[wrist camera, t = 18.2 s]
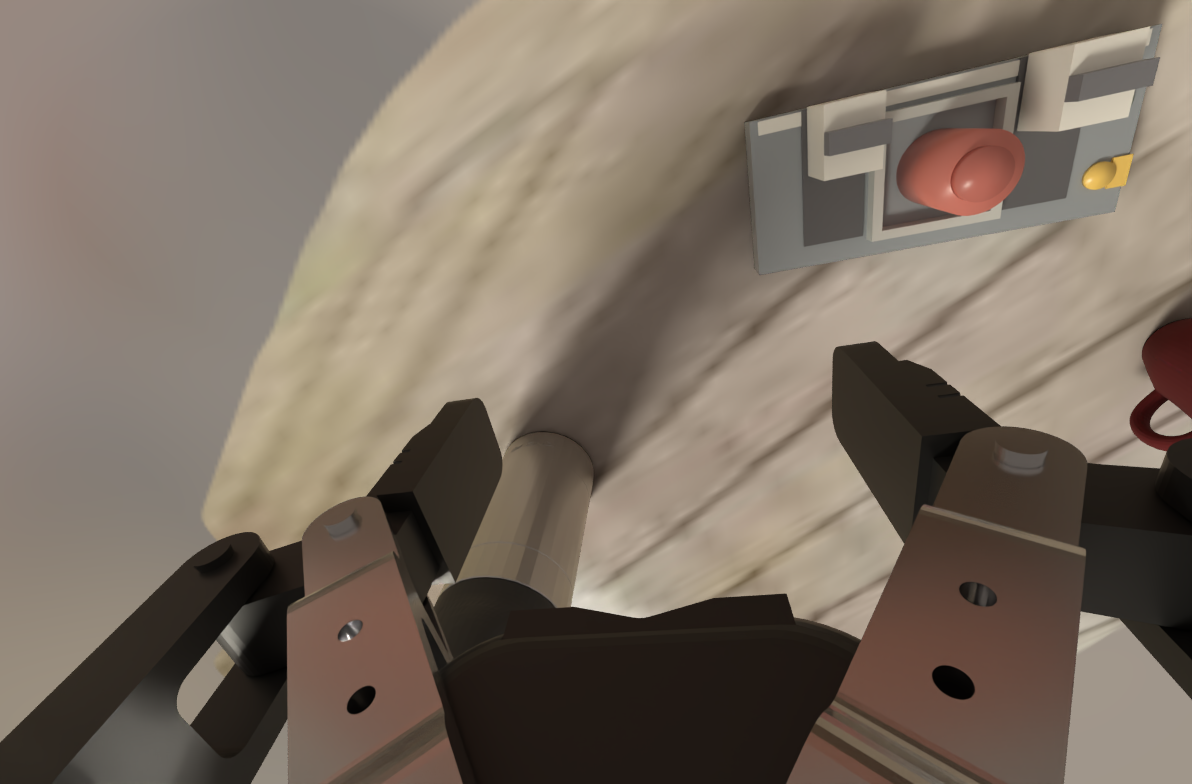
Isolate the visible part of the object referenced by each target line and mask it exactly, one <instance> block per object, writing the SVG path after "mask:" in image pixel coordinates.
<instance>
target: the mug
mask: <svg viewBox="0 0 1192 784" xmlns="http://www.w3.org/2000/svg"><path fill="white" fill-rule="evenodd" d="M1142 359H1143V362H1144V364H1145V367H1146V370H1147V372H1148V375H1149V377H1150V379H1151V381H1152V383H1153V386H1154V388H1155V390H1154V391H1152V392H1151V393H1150V394H1149V395H1147V396H1146V397H1145V398H1144V399H1143V400H1142V401H1141V402H1140V403H1139V404H1138V405H1137V406H1136V407H1135V408H1134V410H1133V412H1132V414H1131V416H1130V426H1131V429H1132V431H1133V433H1134V434H1135V435H1136V436H1137V437H1138V438H1139V439H1140V440H1141V441H1142V442H1144V443H1146V444H1147V445H1149V446H1151V447H1154V448H1156V449H1159V450H1163V451H1167V450H1168V448H1169V447H1170V446H1171V445H1172V444H1174V443H1176V442H1178V441H1180V440H1184V439H1189V438H1192V431H1191V432H1189V433H1186V434H1184V435H1180V436H1164V435H1160V434H1158V433H1156V432H1154V431H1153V430H1152V429H1151V427H1150V420H1151V417H1152V415H1153V414H1154V413H1155V411H1156V410H1157V409H1158V408H1159V407H1160V406H1161V405H1162V404H1163V403H1165V402H1166V401H1167V400H1170V401H1171V402H1172V403H1174V404H1175V405H1176V406H1177V407H1179V408H1180V409H1181V410H1182V411H1183V412H1184V413H1186V414H1187V415H1188V416H1189V417H1190V418H1191V419H1192V318H1191V319H1183V320H1179V321H1175V322H1172V323H1170V324H1167V325H1165V326H1163V327H1162V328H1160V329H1159V330H1157V331H1156V332H1155V333H1153V334H1152V335H1151V336H1150V337H1149V339H1148V340H1147V341H1146V343H1145V345H1144V347H1143V350H1142Z"/></svg>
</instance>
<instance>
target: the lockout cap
mask: <svg viewBox="0 0 1192 784" xmlns="http://www.w3.org/2000/svg"><path fill="white" fill-rule="evenodd" d="M1024 165H1025V152H1024V148H1023V145H1022V143H1021V142H1020V140H1019V139H1018V138H1017V137H1016V136H1015V135H1014V134H1013V133H1011V132H1009V131H1006V130H1003V129H990V128H941V129H936V130H932V131H930V132H927V133H925V134H924V135H922V136H920V137H919V138H917V139H916V140H915V141H914V142H913V143H912V144H911V145H910V146H909V147H908V148H907V149H906V151H905V152H904V154H903V155H902V157H901V159H900V161H899V164H898V167H897V172H896V182H897V186H898V189H899V191H900V193H901V194H902V195H903V196H904V197H905V198H906V199H908V200H909V201H911V202H914V203H917V204H921V205H924V206H928V207H931V208H934V209H938V210H941V211H945V212H948V213H951V214H955V215H960V216H971V215H976V214H980V213H983V212H985V211H987V210H990V209H991V208H993V207H995V206H996V205H998V204H999V203H1000V202H1002V201H1003V200H1004V199H1005V198H1006V197H1007V196H1008V195H1009V194H1010V193H1011V192H1012V190H1013V189H1014V188H1015V186H1016V185H1017V183H1018V182H1019V179H1020V177H1021V175H1022V172H1023V169H1024Z"/></svg>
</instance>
